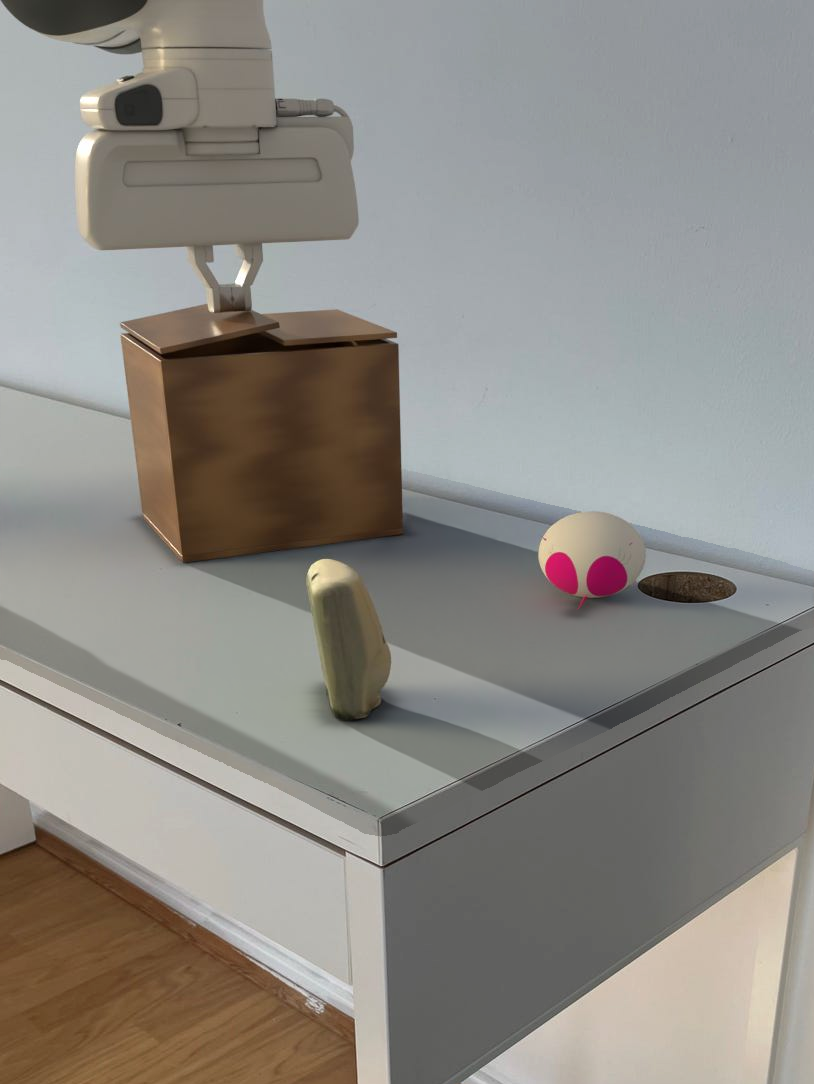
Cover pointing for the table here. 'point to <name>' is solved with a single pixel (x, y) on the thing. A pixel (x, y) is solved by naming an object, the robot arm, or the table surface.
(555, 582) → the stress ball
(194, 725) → the table surface
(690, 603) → the table surface
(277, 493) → the carton
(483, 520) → the table surface
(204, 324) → the flap
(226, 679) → the table surface
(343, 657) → the beige rounded stone
